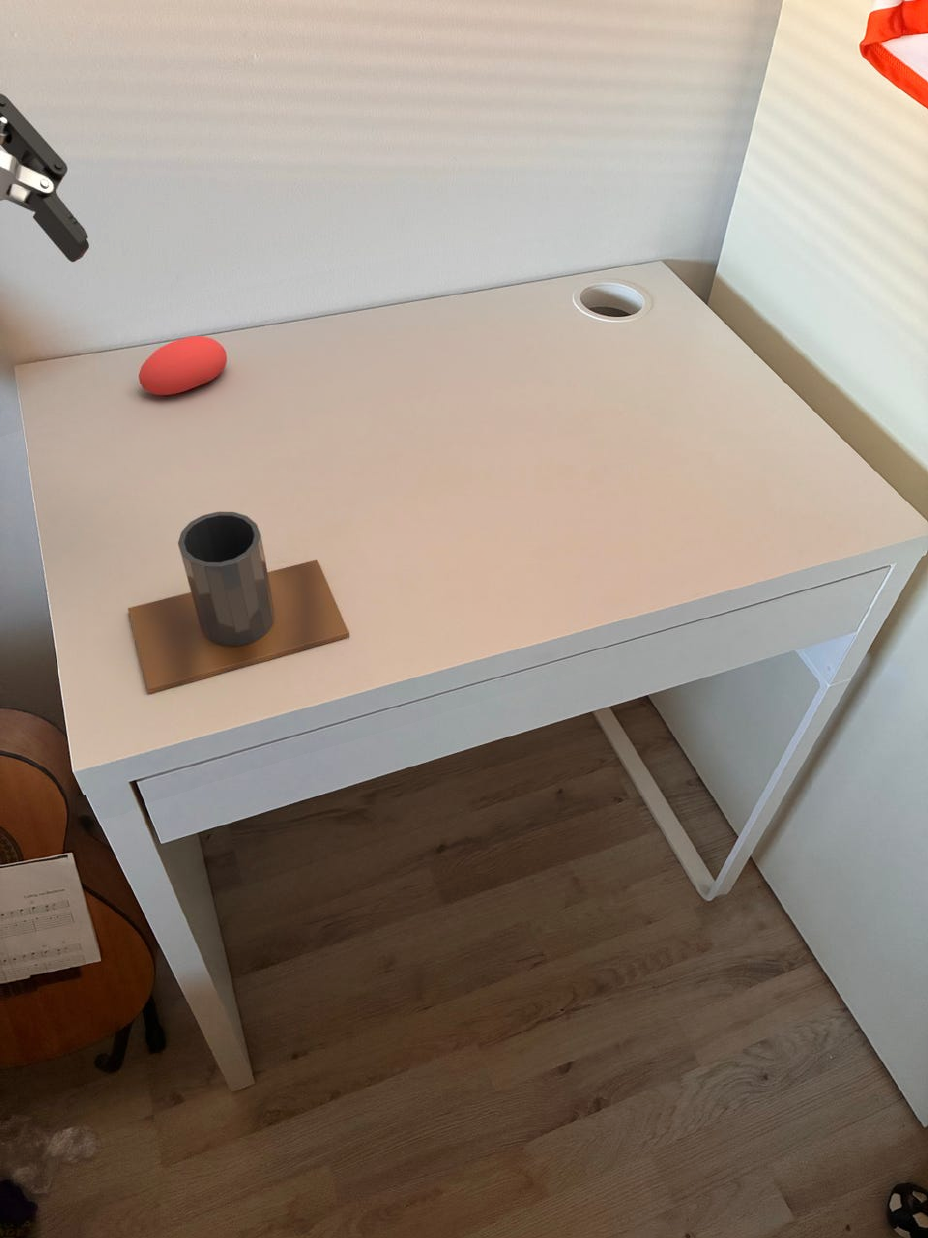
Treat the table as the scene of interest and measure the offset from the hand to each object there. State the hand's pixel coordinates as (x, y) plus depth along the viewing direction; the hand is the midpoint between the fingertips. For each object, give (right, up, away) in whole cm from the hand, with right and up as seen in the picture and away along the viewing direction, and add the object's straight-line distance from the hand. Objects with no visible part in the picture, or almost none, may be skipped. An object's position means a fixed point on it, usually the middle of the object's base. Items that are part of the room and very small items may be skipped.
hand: (33, 281), depth 61 cm
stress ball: (-1, +3, +39) cm, 39 cm away
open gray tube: (+9, -22, +16) cm, 28 cm away
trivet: (+9, -22, +16) cm, 29 cm away
